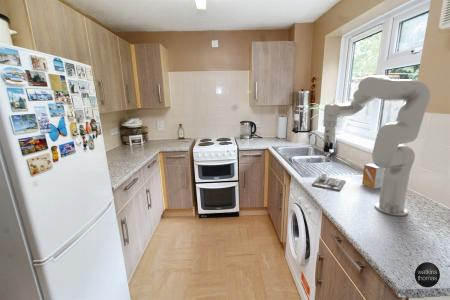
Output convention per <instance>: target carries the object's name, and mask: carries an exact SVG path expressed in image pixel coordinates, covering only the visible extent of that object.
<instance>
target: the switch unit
mask: <svg viewBox="0 0 450 300" xmlns="http://www.w3.org/2000/svg"><path fill="white" fill-rule="evenodd" d="M331 178H332V177H327V180H326V181H321V179H322V175H319V176H318V177H317V178H316V179H315V180H314V182H312V183H311V187H316V188H320V189H325V190H329V191H335V192H341V190H342V188H343V187H344V185H345V184H346V180H345V179H344V180H343V179H338V178H337V181H336V184H337V185H336V187H334V186H330V184H331Z"/></svg>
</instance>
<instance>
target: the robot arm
mask: <svg viewBox="0 0 450 300" xmlns="http://www.w3.org/2000/svg"><path fill="white" fill-rule="evenodd" d="M357 87H358V89H357V90H355V91H354V93H353V95H352V96H353V100H352V101H351V102H348V103H346V102H345V103H330V104H325V105H324V109H323V110H324V111H323V125H322V126H323V127H324V130H323V131H324V132H323V142H324V144H323V153H330V150H334V142H335V141H336V127H337V124H338V123H337V122H338V118H340V117H351V116H353V115H356V114H357V113H359V112H361V111H362V110H363V109H364V108H365V107H366V105H367V104H369V102H371V101H373V100H375V99H379V100H383V101H389V102H390V101H404V103H403V104H402V105H401V107H400V108H399V110H398V112H397V117H396V120H395V122H388V123H386V124H384V125H382V126H381V127H380V128H379V129H378V131H377V133H376V138H375V141H374V145H373V149H372V154H371V159H372V162H373V164H375V165H376V166H378V167H380V168H384V172H383V177H382V184H381V187H380V194H379V200H378V202H376V203H375V204H374V207H375V209H376V210H378V211H380V212H381V213H383V214H387V215H390V216H395V217H396V216H397V217H404V216H407V215H408V214H409V210H408V208H406V207H405V203H406V197H407V191H408V184H409V180H410V179H409V178H410V174H411V171H412V170H411V169H412V167H413V165H414V162H415V160H416V159H415V156H416V154H415V151H414V150H413V149H412V148H411V147H409V146H408V145H404V144H408V143H412V142H414V141H415V140H416V139H417V138H418V136H419V133H420V130H421V125H422V123H423V121H424V116H425V113H426V110H427V108H428V105H429V102H430V99H431V90H430V88H429V87H428V86H427V84H426V83H424V82H422V81H420V80H418V79H417V80H416V79H391V78H390V77H389V76H387V75H367V76H365V77H363V78H362V79H361V80H360V81H359V83H358V85H357Z"/></svg>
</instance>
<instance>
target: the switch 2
mask: <svg viewBox="0 0 450 300" xmlns="http://www.w3.org/2000/svg"><path fill="white" fill-rule="evenodd" d="M330 178H331V184H330V186H334V187H336V185H337V184H336V181H337V179H338V177H335V176H331V177H330Z"/></svg>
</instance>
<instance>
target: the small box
mask: <svg viewBox="0 0 450 300" xmlns="http://www.w3.org/2000/svg"><path fill="white" fill-rule="evenodd" d="M384 169H385V168H380V167H378V166H376V165H375V164H374V163H365V164H364V167H363V175H362V185H363V186H366V187H369V188H372V189H373V190H374V189H379V188H380V189H381V184H382V177H383V172H384Z"/></svg>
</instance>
